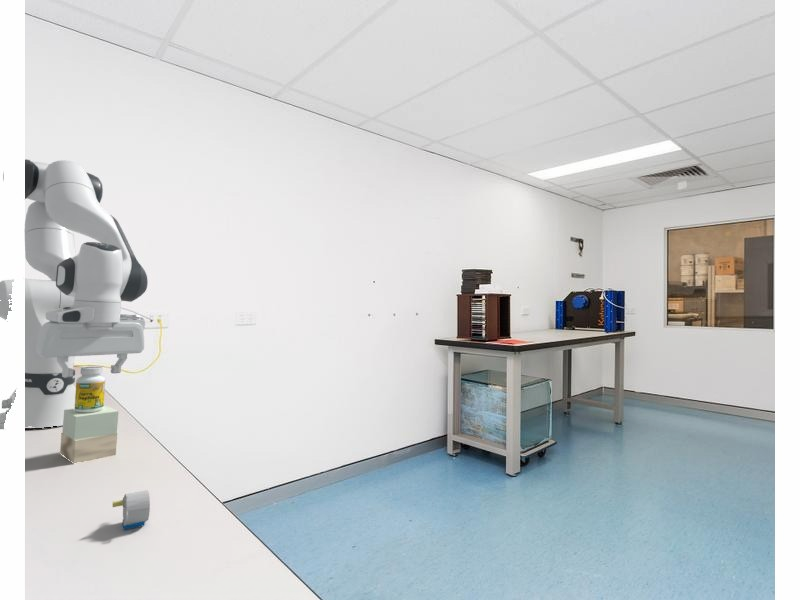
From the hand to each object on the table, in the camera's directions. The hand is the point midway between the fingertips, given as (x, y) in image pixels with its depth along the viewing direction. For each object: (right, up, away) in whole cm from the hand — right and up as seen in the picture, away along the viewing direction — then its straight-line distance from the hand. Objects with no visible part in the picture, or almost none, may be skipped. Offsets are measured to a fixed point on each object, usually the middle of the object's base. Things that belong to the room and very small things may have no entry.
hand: (92, 375), depth 98 cm
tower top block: (0, -13, 0) cm, 13 cm away
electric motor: (+27, -19, -29) cm, 44 cm away
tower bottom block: (-1, -18, -1) cm, 18 cm away
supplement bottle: (0, -8, 0) cm, 8 cm away
